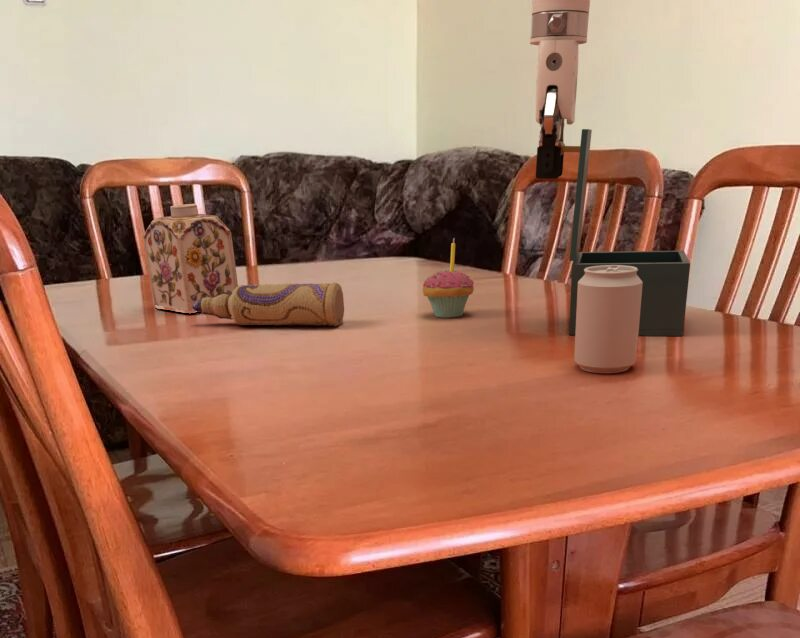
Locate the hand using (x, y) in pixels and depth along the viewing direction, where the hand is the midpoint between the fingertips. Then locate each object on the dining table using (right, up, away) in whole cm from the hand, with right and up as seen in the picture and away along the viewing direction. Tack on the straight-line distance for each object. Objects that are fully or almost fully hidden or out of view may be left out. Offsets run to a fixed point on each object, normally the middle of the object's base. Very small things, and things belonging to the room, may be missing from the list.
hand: (549, 176), depth 118 cm
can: (+4, -31, -15) cm, 34 cm away
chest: (+12, -20, +6) cm, 24 cm away
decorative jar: (-59, -9, +37) cm, 70 cm away
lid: (+5, -3, 0) cm, 6 cm away
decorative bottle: (-42, -17, +19) cm, 49 cm away
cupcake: (-13, -15, +20) cm, 28 cm away
